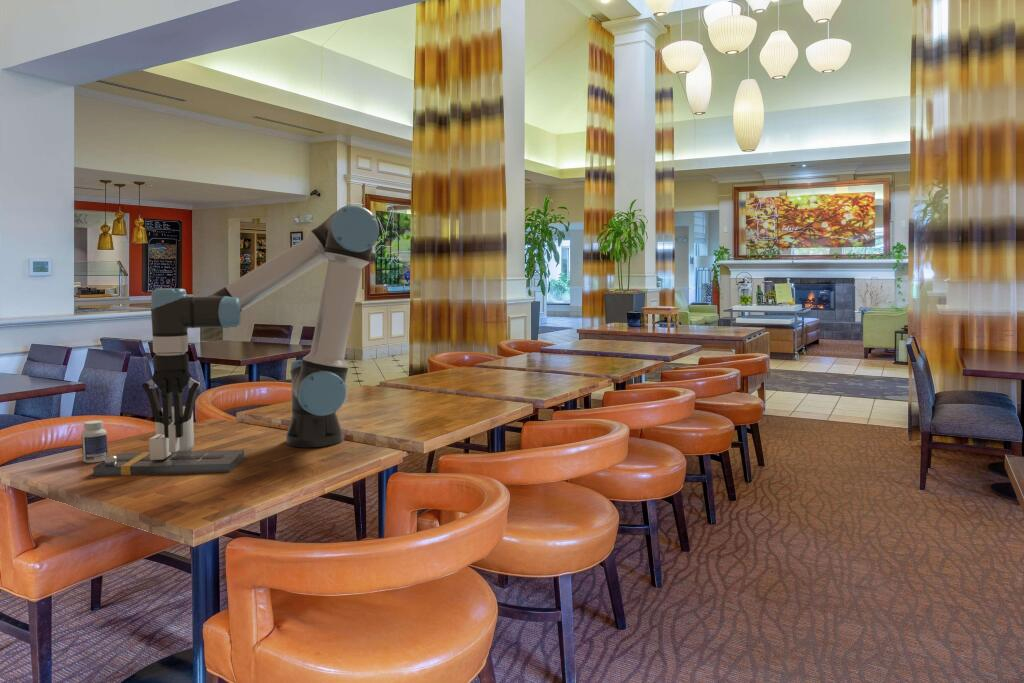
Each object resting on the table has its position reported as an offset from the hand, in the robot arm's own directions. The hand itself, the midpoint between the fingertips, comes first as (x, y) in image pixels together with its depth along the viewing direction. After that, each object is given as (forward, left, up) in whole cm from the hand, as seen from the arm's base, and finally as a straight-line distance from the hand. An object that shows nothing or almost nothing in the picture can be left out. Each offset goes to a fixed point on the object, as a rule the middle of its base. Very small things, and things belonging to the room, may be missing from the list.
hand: (174, 450), depth 165 cm
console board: (+1, 0, -4) cm, 4 cm away
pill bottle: (+22, -8, -4) cm, 23 cm away
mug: (+6, -17, -4) cm, 18 cm away
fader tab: (+3, 0, -2) cm, 4 cm away
